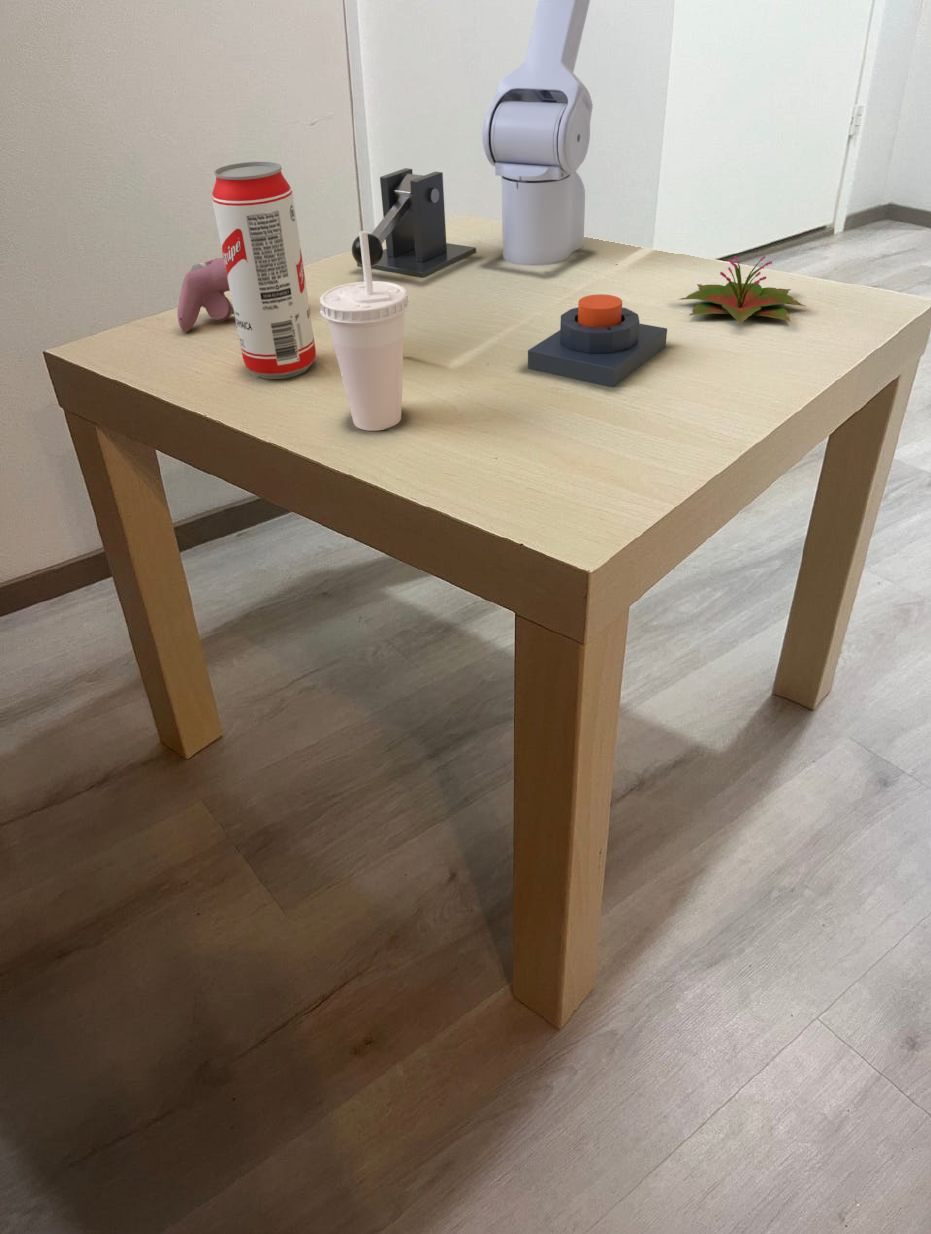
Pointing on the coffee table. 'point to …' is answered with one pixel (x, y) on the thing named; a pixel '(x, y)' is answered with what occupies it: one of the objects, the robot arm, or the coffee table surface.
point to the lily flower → (742, 297)
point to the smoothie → (369, 344)
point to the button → (599, 310)
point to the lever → (386, 223)
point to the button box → (597, 349)
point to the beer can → (264, 268)
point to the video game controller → (204, 293)
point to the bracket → (418, 228)
